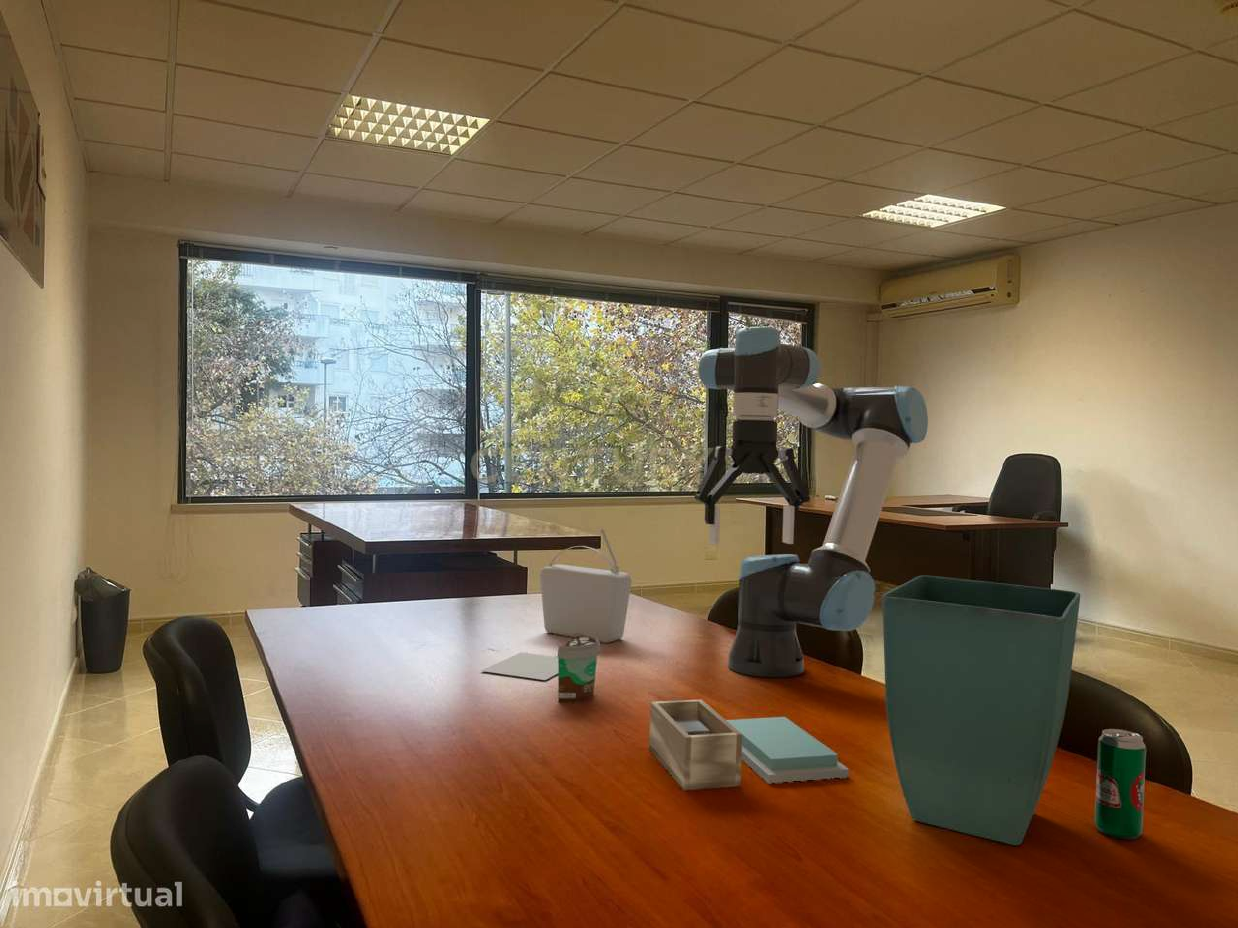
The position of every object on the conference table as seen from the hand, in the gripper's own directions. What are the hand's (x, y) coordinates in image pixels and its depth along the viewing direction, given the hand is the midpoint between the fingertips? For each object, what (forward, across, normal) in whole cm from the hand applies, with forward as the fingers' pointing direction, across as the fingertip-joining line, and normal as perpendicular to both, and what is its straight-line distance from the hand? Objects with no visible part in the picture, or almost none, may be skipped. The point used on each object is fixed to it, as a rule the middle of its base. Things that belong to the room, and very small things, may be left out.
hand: (751, 543), depth 154 cm
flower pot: (+29, +10, -47) cm, 56 cm away
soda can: (+29, +25, -54) cm, 66 cm away
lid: (+27, -4, -22) cm, 35 cm away
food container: (+29, -26, +12) cm, 41 cm away
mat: (+28, -4, -22) cm, 36 cm away
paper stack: (+29, -33, +39) cm, 59 cm away
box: (+28, -18, -24) cm, 41 cm away
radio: (+29, -15, +59) cm, 68 cm away
